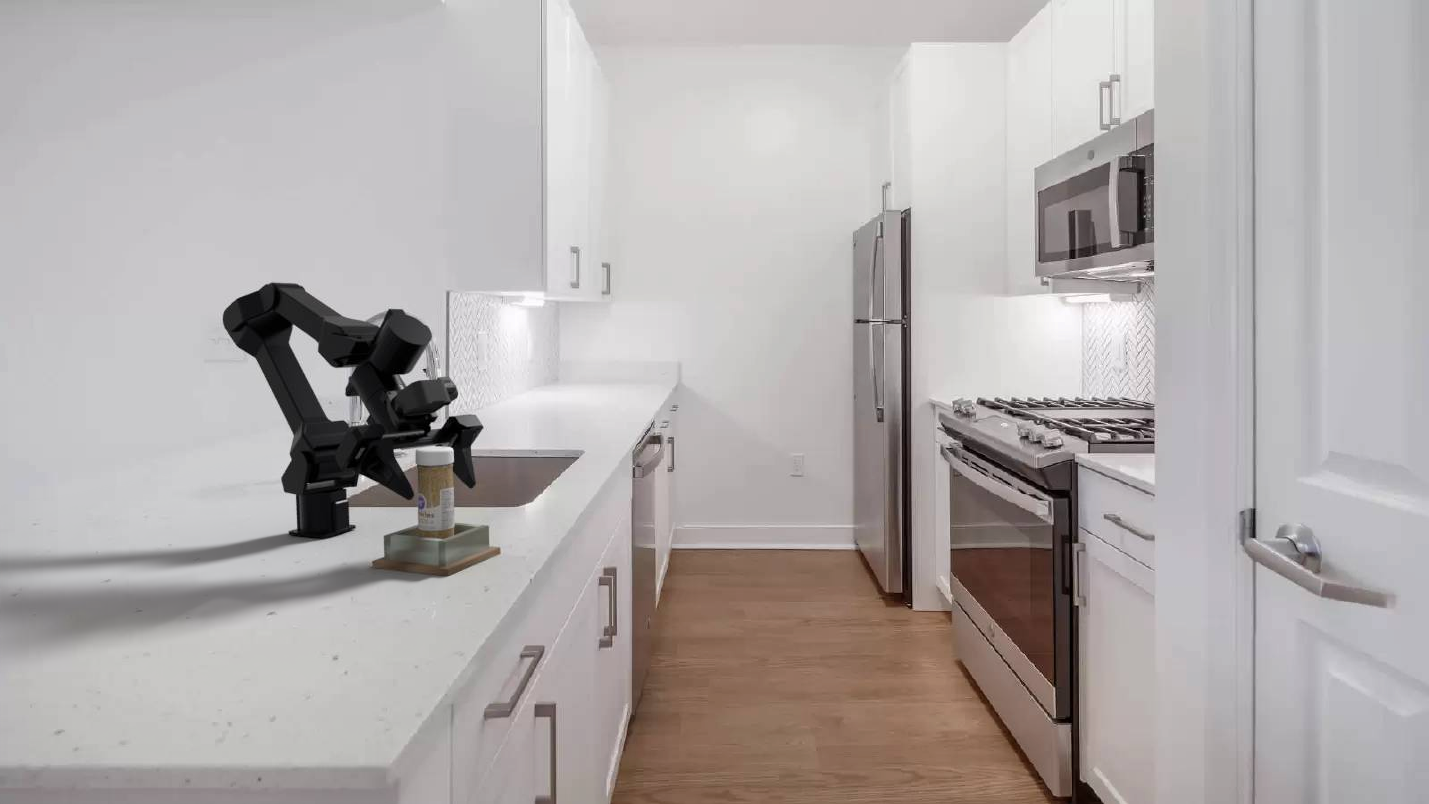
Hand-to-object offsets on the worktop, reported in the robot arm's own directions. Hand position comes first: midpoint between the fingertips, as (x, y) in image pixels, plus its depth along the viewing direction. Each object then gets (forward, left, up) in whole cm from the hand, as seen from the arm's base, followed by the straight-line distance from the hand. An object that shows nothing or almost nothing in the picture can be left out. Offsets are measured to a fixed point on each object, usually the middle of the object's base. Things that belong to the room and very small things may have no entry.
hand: (443, 492), depth 108 cm
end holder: (-1, 0, -9) cm, 9 cm away
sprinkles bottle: (-1, 0, -8) cm, 8 cm away
